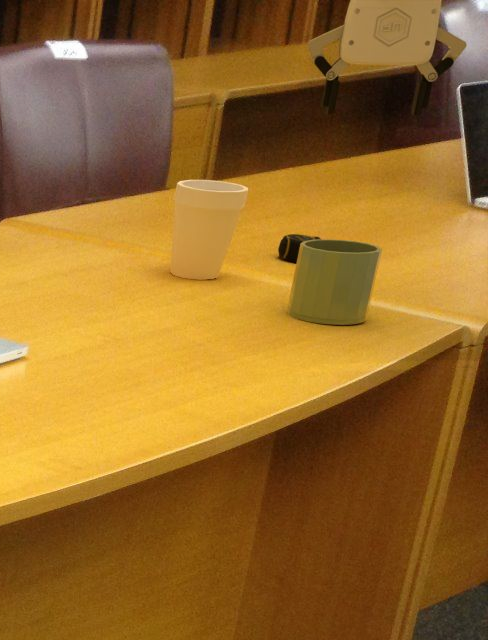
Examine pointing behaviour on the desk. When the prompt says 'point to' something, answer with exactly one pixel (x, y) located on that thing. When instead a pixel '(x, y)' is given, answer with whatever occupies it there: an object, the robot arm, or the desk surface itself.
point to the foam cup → (204, 226)
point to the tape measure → (292, 246)
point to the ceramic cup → (333, 281)
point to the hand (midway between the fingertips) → (372, 114)
